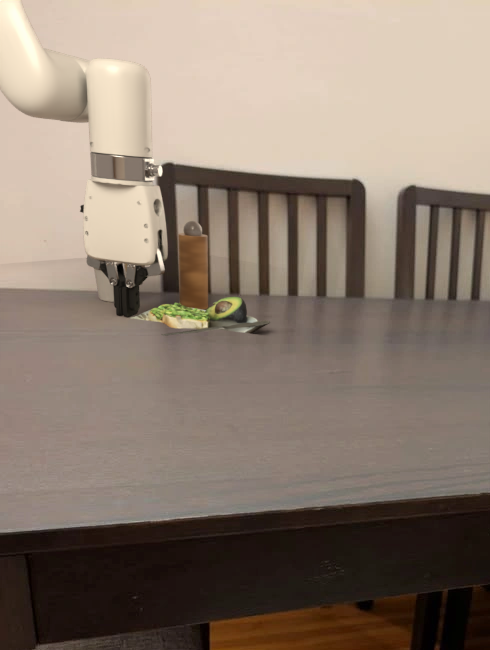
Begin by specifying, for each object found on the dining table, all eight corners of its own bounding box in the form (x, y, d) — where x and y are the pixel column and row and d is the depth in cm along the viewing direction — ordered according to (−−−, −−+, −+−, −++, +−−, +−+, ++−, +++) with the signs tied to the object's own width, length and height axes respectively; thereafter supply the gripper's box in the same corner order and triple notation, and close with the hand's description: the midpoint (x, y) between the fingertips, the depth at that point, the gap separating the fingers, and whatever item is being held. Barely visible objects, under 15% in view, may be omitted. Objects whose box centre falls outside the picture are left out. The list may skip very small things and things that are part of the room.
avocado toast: (224, 361, 89) (224, 323, 87) (92, 342, 92) (89, 305, 90) (278, 330, 106) (279, 298, 104) (165, 315, 109) (164, 284, 107)
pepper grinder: (175, 307, 114) (172, 220, 109) (186, 303, 118) (185, 218, 113) (201, 311, 113) (200, 223, 108) (212, 306, 117) (211, 221, 112)
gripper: (189, 176, 95) (189, 317, 103) (83, 165, 97) (91, 303, 105) (164, 177, 88) (166, 327, 96) (51, 164, 90) (62, 312, 98)
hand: (127, 314), depth 100 cm, fingers closed
